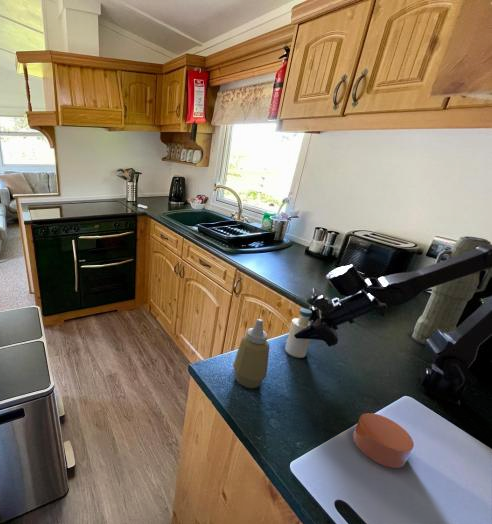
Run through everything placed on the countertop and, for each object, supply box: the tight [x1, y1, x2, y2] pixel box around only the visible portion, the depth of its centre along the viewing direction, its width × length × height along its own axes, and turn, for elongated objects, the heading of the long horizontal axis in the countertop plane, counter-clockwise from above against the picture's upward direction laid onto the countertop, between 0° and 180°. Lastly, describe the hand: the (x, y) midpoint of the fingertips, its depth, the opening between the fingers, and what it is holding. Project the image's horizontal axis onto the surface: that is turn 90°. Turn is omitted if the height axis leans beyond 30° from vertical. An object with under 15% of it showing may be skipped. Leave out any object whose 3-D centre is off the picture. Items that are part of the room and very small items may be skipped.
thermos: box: [411, 235, 492, 346], centre depth 89 cm, size 9×12×35 cm
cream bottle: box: [284, 307, 312, 359], centre depth 84 cm, size 6×6×14 cm
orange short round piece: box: [352, 412, 415, 469], centre depth 57 cm, size 8×8×4 cm
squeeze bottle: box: [232, 318, 270, 389], centre depth 71 cm, size 8×8×18 cm
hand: (294, 331), depth 85 cm, fingers closed on cream bottle, 5 cm apart
